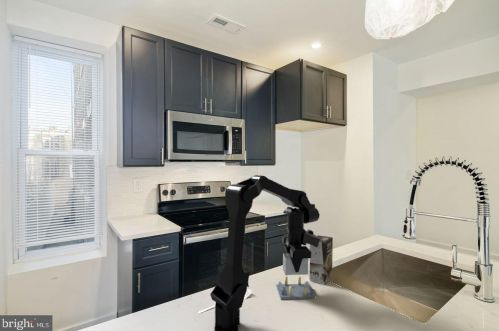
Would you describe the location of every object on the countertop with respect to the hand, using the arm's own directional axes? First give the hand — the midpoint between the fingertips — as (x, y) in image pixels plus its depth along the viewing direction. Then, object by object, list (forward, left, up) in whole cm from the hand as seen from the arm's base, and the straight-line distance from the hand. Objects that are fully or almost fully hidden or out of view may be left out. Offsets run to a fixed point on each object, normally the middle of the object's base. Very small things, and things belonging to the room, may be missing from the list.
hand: (295, 269), depth 91 cm
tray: (0, 0, -8) cm, 8 cm away
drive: (0, 0, -1) cm, 1 cm away
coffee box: (+13, +10, -9) cm, 19 cm away
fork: (-24, -5, -9) cm, 26 cm away
